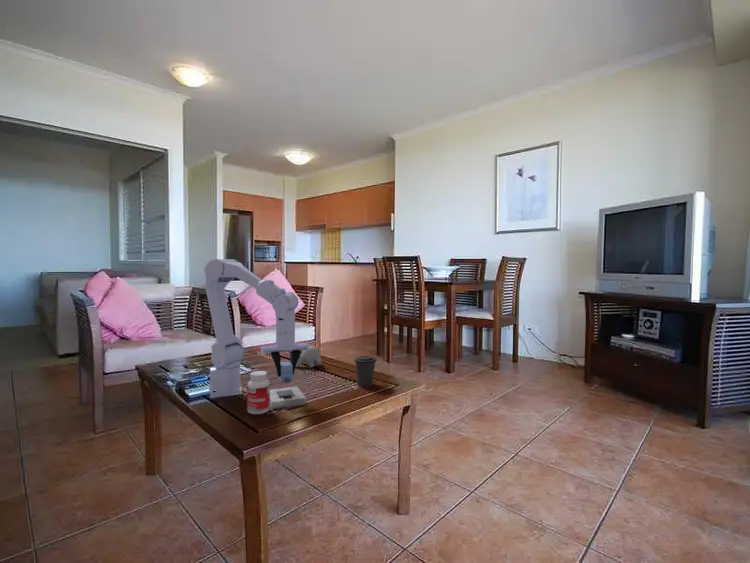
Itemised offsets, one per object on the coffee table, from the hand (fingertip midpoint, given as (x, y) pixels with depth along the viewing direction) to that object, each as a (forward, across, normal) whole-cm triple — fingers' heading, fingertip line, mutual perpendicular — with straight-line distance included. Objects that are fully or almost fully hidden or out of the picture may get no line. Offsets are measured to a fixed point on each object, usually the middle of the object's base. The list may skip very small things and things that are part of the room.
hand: (285, 375), depth 118 cm
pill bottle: (+8, -9, -6) cm, 13 cm away
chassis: (+8, 0, 0) cm, 8 cm away
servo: (+2, 0, 0) cm, 2 cm away
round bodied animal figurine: (+8, +16, +37) cm, 41 cm away
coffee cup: (+8, +29, +5) cm, 31 cm away
